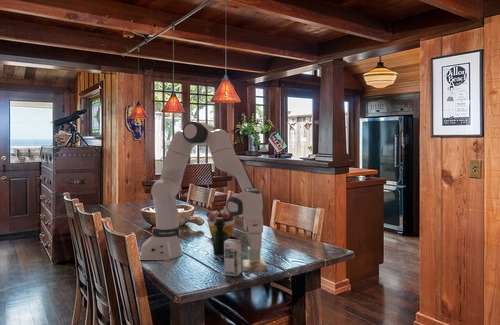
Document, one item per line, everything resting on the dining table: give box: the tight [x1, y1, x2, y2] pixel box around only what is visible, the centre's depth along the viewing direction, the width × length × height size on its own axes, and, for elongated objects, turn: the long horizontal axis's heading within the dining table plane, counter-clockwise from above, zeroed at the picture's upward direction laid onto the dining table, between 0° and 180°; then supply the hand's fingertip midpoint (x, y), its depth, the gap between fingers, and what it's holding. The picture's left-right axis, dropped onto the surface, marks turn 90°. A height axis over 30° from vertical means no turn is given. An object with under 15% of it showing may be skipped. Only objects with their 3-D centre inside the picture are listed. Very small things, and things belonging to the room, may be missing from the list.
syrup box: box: [223, 238, 242, 277], centre depth 168 cm, size 6×6×14 cm
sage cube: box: [247, 246, 261, 261], centre depth 176 cm, size 5×5×5 cm
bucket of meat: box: [206, 201, 238, 239], centre depth 232 cm, size 20×16×20 cm
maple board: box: [241, 258, 268, 272], centre depth 176 cm, size 10×10×2 cm
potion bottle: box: [211, 217, 229, 256], centre depth 198 cm, size 8×8×18 cm
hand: (253, 255), depth 176 cm, fingers closed on sage cube, 5 cm apart
